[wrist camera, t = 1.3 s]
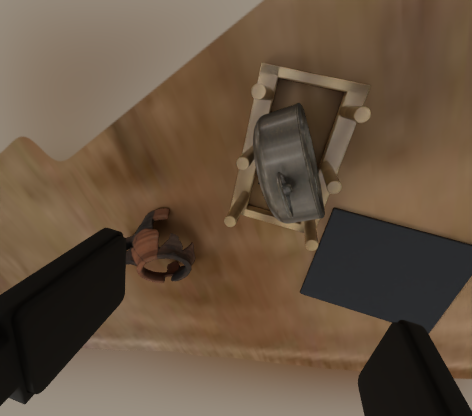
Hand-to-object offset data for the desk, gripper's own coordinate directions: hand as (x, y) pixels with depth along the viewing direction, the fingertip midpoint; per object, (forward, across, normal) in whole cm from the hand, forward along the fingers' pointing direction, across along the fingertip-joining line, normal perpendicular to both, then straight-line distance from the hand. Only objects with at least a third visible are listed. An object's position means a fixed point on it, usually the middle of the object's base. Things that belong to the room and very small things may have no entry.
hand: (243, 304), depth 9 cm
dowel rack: (+25, -1, -1) cm, 25 cm away
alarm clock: (+25, -1, -1) cm, 25 cm away
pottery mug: (+25, +14, +16) cm, 33 cm away
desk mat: (+25, -17, +11) cm, 32 cm away
